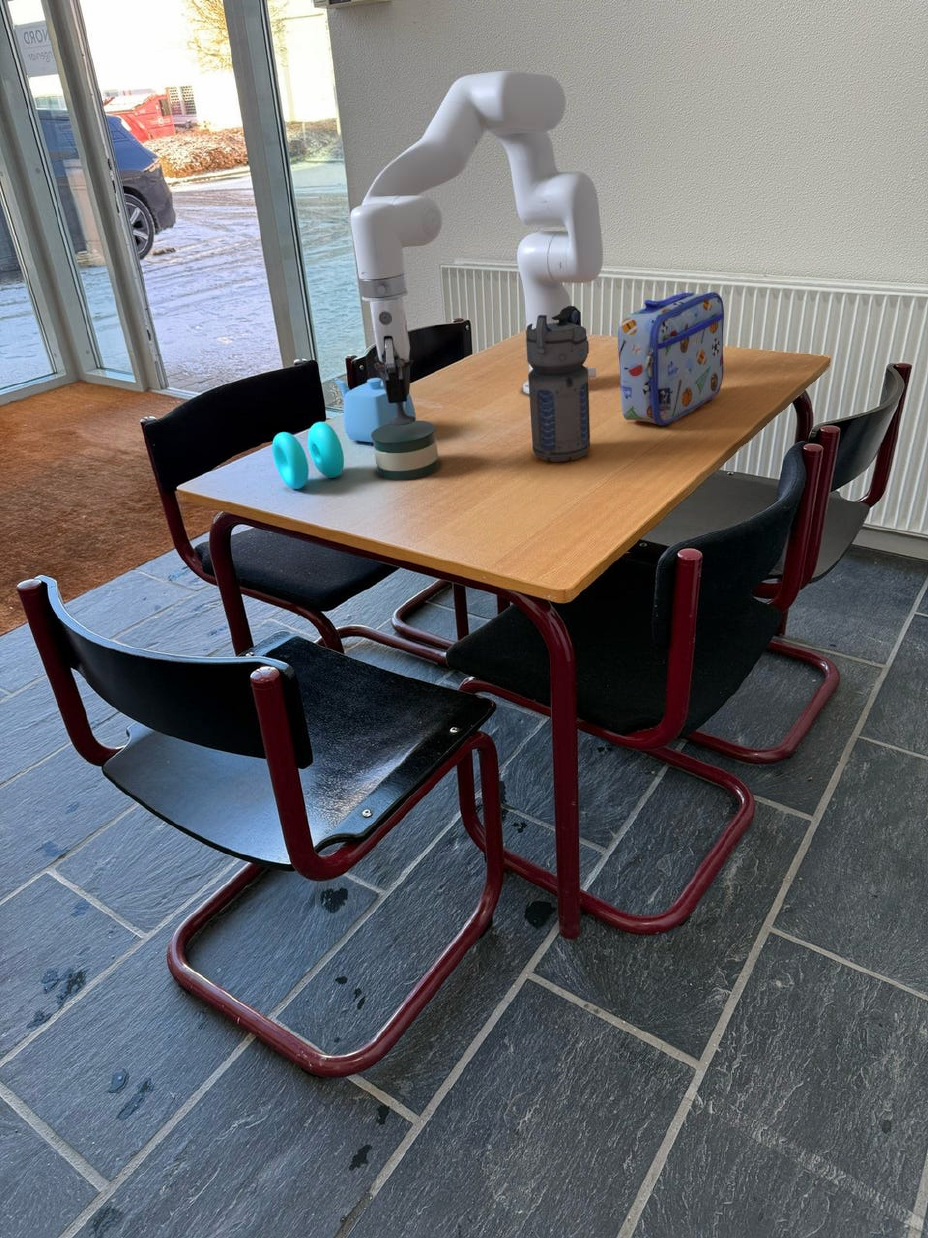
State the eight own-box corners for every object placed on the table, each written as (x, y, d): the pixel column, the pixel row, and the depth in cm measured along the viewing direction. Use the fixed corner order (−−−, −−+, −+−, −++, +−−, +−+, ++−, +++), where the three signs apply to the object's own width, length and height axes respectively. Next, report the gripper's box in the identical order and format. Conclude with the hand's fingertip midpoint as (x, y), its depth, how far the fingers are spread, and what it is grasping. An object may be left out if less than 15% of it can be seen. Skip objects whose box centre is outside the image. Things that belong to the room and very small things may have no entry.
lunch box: (659, 437, 164) (660, 312, 153) (610, 430, 170) (608, 308, 159) (729, 394, 181) (734, 278, 170) (681, 389, 187) (684, 277, 176)
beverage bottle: (606, 443, 164) (603, 300, 151) (572, 469, 155) (566, 318, 142) (556, 437, 169) (549, 298, 157) (520, 462, 160) (510, 316, 147)
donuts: (350, 481, 160) (341, 426, 155) (299, 497, 156) (287, 442, 151) (326, 467, 168) (317, 414, 163) (276, 482, 163) (265, 428, 158)
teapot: (361, 422, 189) (352, 367, 184) (431, 430, 180) (424, 372, 174) (322, 441, 181) (312, 384, 175) (394, 451, 171) (386, 391, 166)
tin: (440, 454, 168) (435, 417, 164) (439, 476, 158) (435, 438, 154) (378, 460, 168) (373, 423, 164) (374, 483, 158) (368, 445, 155)
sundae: (423, 413, 161) (412, 327, 153) (417, 425, 155) (406, 336, 148) (386, 415, 162) (374, 330, 154) (380, 428, 156) (366, 339, 148)
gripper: (404, 294, 140) (419, 409, 149) (408, 275, 154) (421, 381, 164) (356, 299, 140) (373, 414, 149) (364, 280, 155) (380, 385, 164)
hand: (398, 395), depth 156 cm, fingers closed on sundae, 5 cm apart
